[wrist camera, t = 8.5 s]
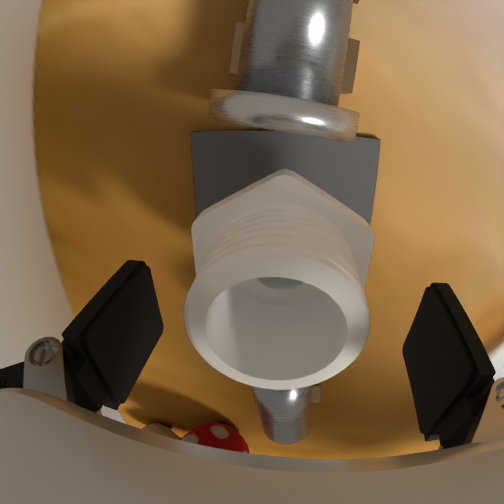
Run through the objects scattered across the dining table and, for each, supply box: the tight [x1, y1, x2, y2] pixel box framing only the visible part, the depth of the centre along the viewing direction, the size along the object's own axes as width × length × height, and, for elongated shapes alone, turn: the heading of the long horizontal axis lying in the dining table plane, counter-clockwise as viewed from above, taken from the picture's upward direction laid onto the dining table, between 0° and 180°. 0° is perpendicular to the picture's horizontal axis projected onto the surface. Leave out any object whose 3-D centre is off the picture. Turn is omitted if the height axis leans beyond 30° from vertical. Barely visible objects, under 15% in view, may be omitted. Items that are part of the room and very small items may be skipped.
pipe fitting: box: [184, 169, 374, 390], centre depth 11 cm, size 6×7×8 cm
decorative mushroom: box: [142, 422, 250, 454], centre depth 25 cm, size 11×11×15 cm
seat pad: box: [191, 130, 380, 226], centre depth 15 cm, size 9×9×1 cm
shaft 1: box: [208, 0, 360, 142], centre depth 7 cm, size 10×5×6 cm, turn 173°
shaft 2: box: [251, 382, 321, 444], centre depth 17 cm, size 10×5×6 cm, turn 9°
